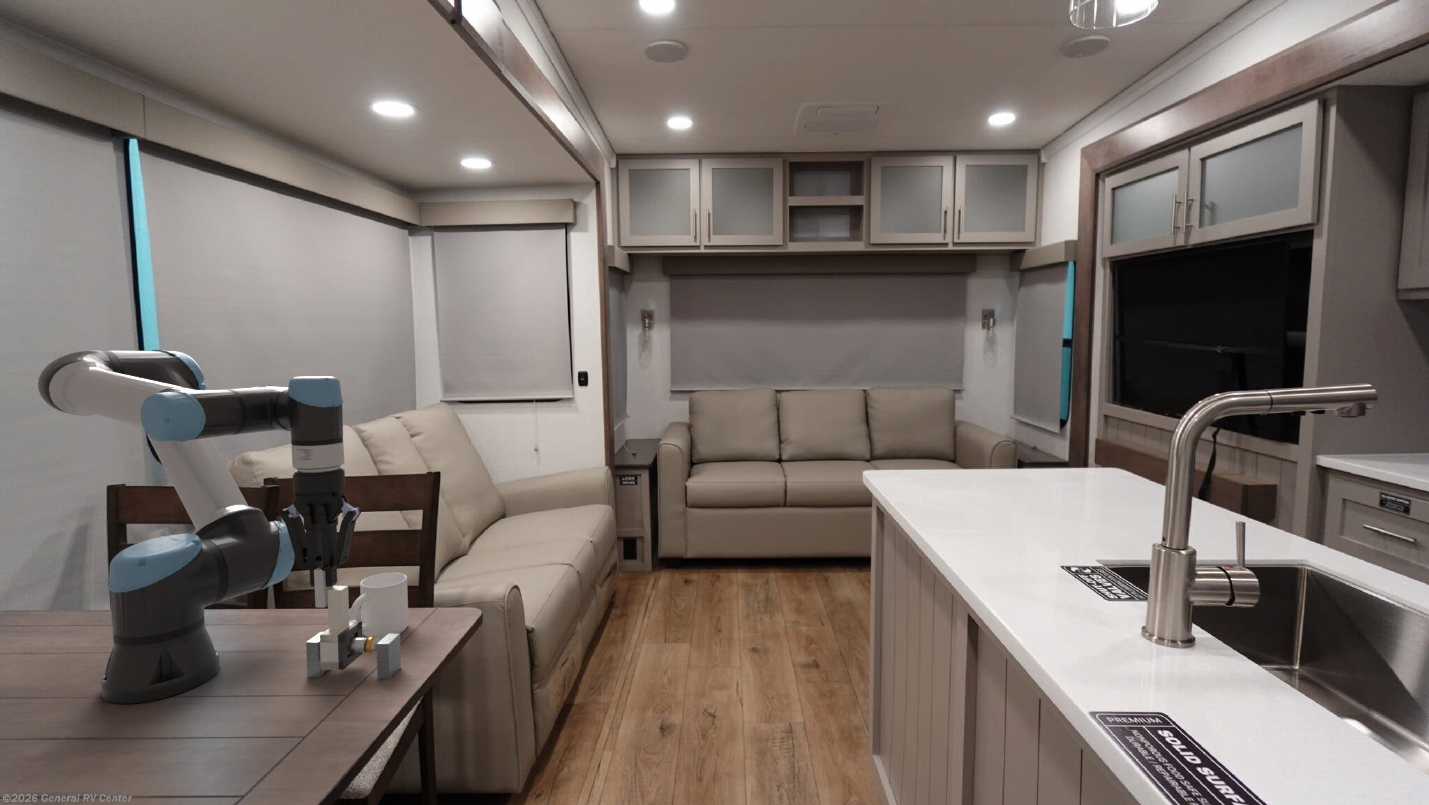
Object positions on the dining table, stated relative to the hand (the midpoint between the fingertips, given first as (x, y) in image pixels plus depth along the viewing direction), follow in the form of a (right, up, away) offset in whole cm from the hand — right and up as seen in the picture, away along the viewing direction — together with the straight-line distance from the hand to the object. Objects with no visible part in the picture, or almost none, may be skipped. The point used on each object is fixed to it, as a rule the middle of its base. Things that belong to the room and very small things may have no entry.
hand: (324, 604), depth 112 cm
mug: (+1, -11, +16) cm, 20 cm away
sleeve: (+2, -10, +1) cm, 11 cm away
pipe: (+5, -12, +1) cm, 13 cm away
